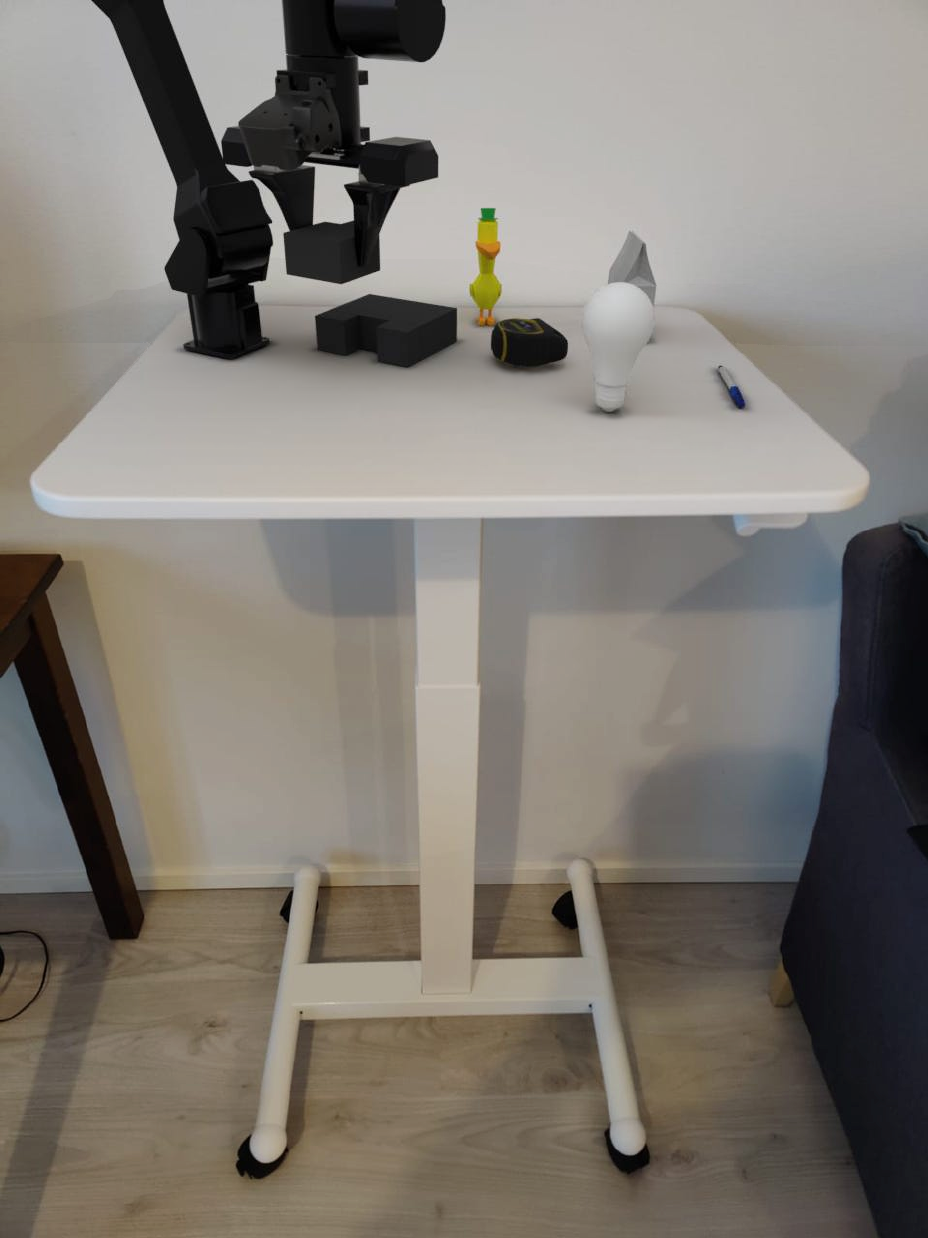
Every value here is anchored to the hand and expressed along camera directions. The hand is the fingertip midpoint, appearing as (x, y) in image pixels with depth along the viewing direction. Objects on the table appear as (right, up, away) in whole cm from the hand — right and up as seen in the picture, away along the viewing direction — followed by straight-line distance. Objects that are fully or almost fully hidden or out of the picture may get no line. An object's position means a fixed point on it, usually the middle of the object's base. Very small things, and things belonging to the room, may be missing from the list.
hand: (333, 260), depth 82 cm
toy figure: (+14, +1, +22) cm, 26 cm away
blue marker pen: (+37, -10, +5) cm, 39 cm away
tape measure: (+18, -6, +11) cm, 22 cm away
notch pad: (+4, -3, +15) cm, 16 cm away
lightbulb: (+24, -14, 0) cm, 28 cm away
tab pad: (0, -1, +1) cm, 1 cm away
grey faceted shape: (+30, -1, +20) cm, 36 cm away
